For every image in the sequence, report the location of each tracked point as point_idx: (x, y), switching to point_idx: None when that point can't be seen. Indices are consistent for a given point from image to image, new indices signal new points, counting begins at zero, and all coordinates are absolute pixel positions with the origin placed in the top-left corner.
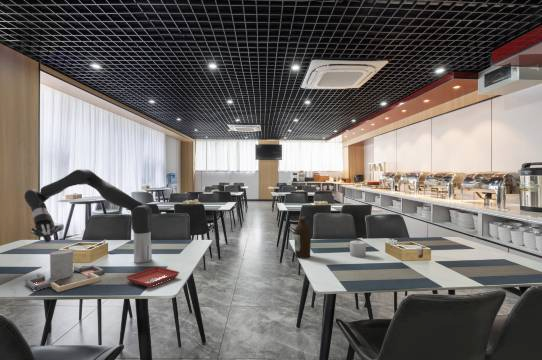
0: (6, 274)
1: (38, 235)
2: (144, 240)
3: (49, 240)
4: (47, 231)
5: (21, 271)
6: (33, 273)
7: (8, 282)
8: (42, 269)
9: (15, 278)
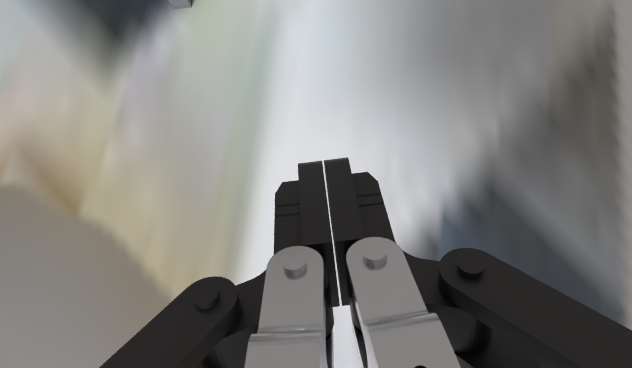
0: (612, 265)
1: (503, 339)
2: None
3: (311, 163)
4: (317, 329)
5: None
6: (440, 133)
7: (594, 12)
8: None
9: (554, 85)
